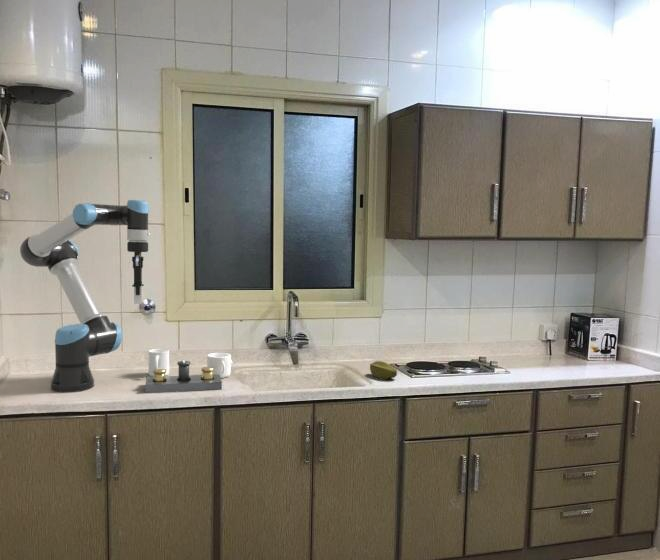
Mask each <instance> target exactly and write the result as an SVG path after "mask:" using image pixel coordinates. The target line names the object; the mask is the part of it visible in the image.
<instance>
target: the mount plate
mask: <svg viewBox="0 0 660 560" xmlns="http://www.w3.org/2000/svg"><path fill="white" fill-rule="evenodd" d="M222 385H223V381H222V378H220V375H219V374H216V375H213V380H202V374H197V375H192V374H191V375H190V374H189V380H186V381H180V380H179V375H172V376H171V375H167V376H165V382H154V377H152V376H147V377H146V380H145V385H144V386H145V387H144V389H145V394H149V393H148V392H155V393H174V392H175V393H176V391H177V392H193V391H195V392H196V391H197V392H198V391H216V390H219V391H221V390H223V388H222Z"/></svg>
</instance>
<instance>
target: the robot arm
mask: <svg viewBox="0 0 660 560" xmlns="http://www.w3.org/2000/svg"><path fill="white" fill-rule="evenodd" d="M149 212H150V211H149V203H148V201H146V200H141V199H129V200H127V203H126V205H116V204H102V203H101V204H100V203H99V204H97V203H89V202H85V203H78V204H76V205H75V206H74V208H73V210H72V213H71V214H70V215H67V216H66V217H64V218H63V219H61V220H59V221H58V222H56V223H55V224H52V226H50V227H48V228H47V229H45V230H43V231H41V232H40V233H33V234H32V235H30V236H28V237H27V238H25V239H24V240H23V241H22V243H21V244H20V248H19V252H20V256H21V258H22V260H23V261H24V262H25V263H26V264H27V265H30V266H33V267H38V268H39V267H43V268H44V267H47V268H48V270H49V272H50V274H51V275H53V276H56V277H57V280H58V282H59V283H60V285H61V288H62V289H63V291H64V293H65V295H66V297H67V299H68V301H69V303H70V305H71V307H72V309H73V312H74V314H75V315H76V317H77V319H78V321H79V323H74V324H67V325H63V326H62V327H59V328H57V330H56V331H55V334H54V335H55V336H54V348H55V351H54V352H55V370H54V372H53V375H52V379H51V381H50V390H52V392H53V391H54V392H60V393H73V392H81V391H86V390H89V389H92V388H94V386H95V379H94V376H93V374H92V371H91V369H90V364H89V363H90V357H94V356H99V355H104V354H105V355H106V354H109V353H111V352H115V351H116V350H118V348H120V346H121V344H122V340H123V333H122V332H123V331H122V329H121V327H120V326H119V324H117V323H115V322H111V321H110V319H109V318H108V317H109V316H107V315H105V314H103V313H101V309H99V307H98V305H97V303H96V301H95V299H94V297H93V295H92V293H91V291H90V289H89V288H88V286H87V284H86V281H85V279H84V277H83V275H82V274H81V271H80V270H79V267H78V266H79V263H80V262H79V261H78V259H77V256H78V248H79V247H78V248H77V247H76V245H75V244H73V243H72V242H71V241H69V239H71V240H72V239H73V238H75V237H76V236H77V235H79V234H81V233H82V232H85V231H86V230H88V229H90V228H91V227H93V226H96V225H97V226H98V225H99V226H102V225H104V226H126V227H127V229H126V240H127V243H126V244H127V246H126V247H127V252H128V253H133V254H134V255H133V256H131V261H132V269H133V284H132V287H133V304H135V305H141V304H143V303H142V302H143V293H142V290H143V287H144V283H143V282H142V280H143V279H142V278H143V273H142V272H143V267H144V256H142V253H147V252H149V242H147V241H149V236H150V235H151V233H150V232H148V231H149Z"/></svg>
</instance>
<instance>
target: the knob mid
mask: <svg viewBox="0 0 660 560" xmlns="http://www.w3.org/2000/svg"><path fill="white" fill-rule="evenodd" d="M177 365H178V376H179V380H180V381H186V380H189V376H190V365H191V361H189V360H184V359H183V360H180V361H179V360H178V361H177Z"/></svg>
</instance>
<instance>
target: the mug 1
mask: <svg viewBox="0 0 660 560" xmlns="http://www.w3.org/2000/svg"><path fill="white" fill-rule="evenodd" d="M154 369H166V372H165V376H169V374H170V349H168V348H153V349H149V350H148V375H149V377H154V373H153V370H154Z"/></svg>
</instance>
